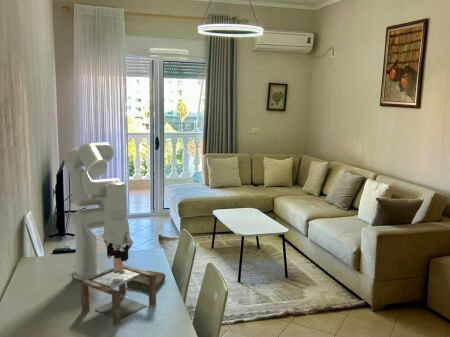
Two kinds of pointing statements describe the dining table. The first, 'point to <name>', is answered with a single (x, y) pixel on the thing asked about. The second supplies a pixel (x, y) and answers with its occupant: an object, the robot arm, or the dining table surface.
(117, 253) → the grandmother figurine
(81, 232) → the robot arm
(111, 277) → the trapdoor plate
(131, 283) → the marble piece
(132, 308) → the frame
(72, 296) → the dining table surface
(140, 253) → the dining table surface
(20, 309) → the dining table surface
